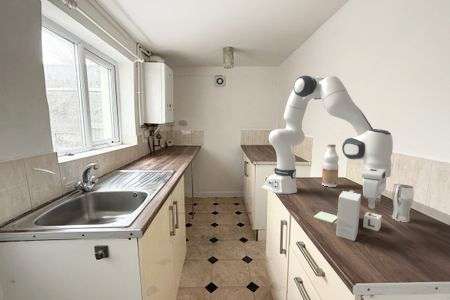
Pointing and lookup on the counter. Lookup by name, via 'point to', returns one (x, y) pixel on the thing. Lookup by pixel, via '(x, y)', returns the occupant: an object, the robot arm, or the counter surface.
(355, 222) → the skincare box
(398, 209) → the beer glass
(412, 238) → the counter surface
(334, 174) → the fruit juice
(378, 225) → the lettered cube
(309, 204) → the counter surface
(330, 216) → the pad
